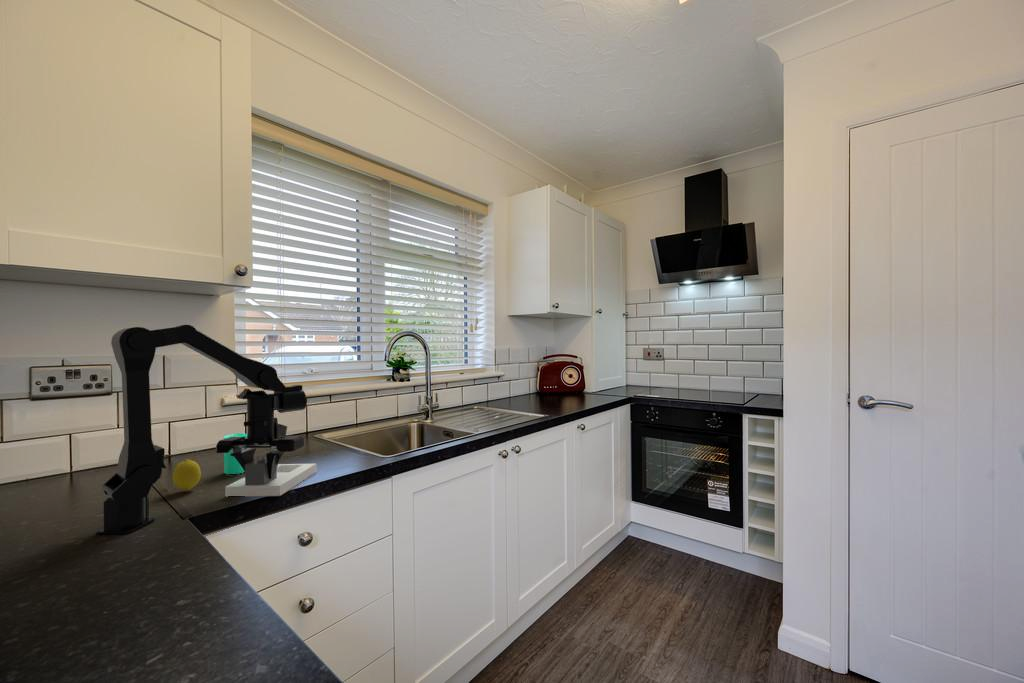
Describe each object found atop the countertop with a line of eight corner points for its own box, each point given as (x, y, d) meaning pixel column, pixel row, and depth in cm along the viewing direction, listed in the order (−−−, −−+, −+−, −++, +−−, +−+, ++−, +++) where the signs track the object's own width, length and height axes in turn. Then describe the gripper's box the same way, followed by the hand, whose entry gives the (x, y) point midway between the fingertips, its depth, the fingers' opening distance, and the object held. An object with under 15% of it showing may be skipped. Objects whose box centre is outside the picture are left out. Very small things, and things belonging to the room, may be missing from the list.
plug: (264, 485, 101) (263, 459, 101) (245, 485, 101) (245, 459, 101) (276, 477, 106) (276, 453, 106) (258, 478, 106) (258, 453, 106)
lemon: (176, 497, 101) (176, 463, 101) (169, 492, 104) (169, 460, 104) (204, 490, 105) (203, 458, 105) (196, 486, 108) (196, 455, 108)
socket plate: (280, 495, 100) (280, 483, 100) (225, 496, 100) (225, 484, 100) (316, 472, 119) (316, 461, 119) (270, 472, 119) (270, 462, 119)
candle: (228, 470, 122) (227, 429, 123) (251, 468, 124) (251, 427, 124) (220, 476, 117) (220, 433, 117) (245, 473, 118) (244, 431, 119)
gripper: (313, 410, 112) (314, 468, 112) (243, 411, 112) (243, 470, 112) (292, 417, 101) (292, 482, 101) (214, 418, 101) (214, 483, 100)
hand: (261, 479), depth 104 cm, fingers closed on plug, 4 cm apart
